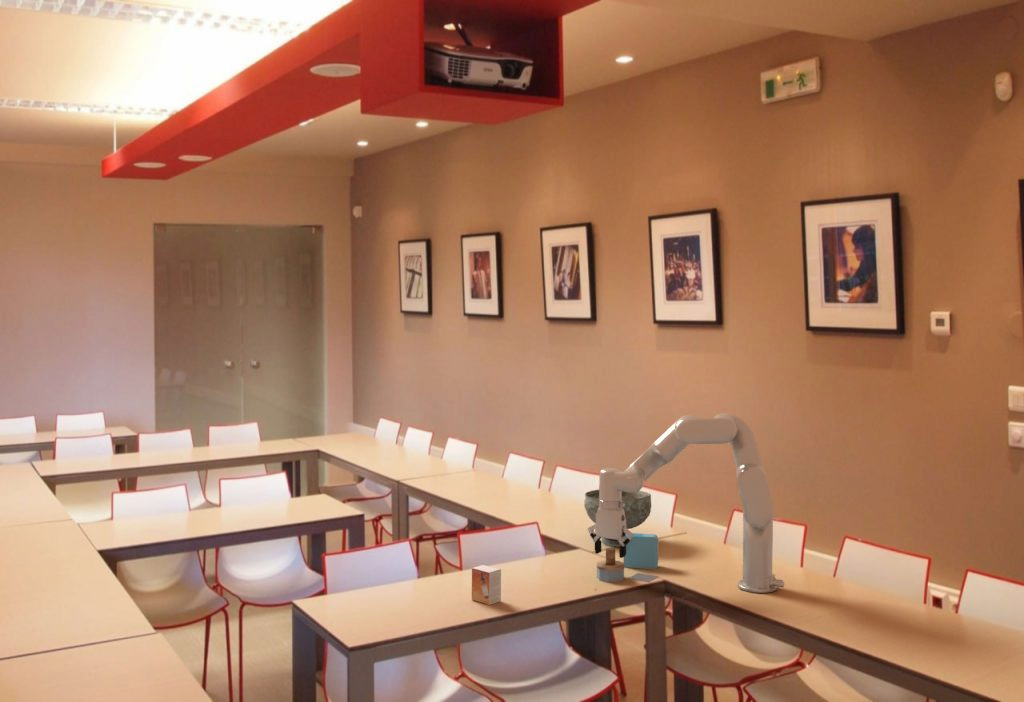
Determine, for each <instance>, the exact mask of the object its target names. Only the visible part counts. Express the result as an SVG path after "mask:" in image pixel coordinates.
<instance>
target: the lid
mask: <svg viewBox="0 0 1024 702" xmlns="http://www.w3.org/2000/svg"><path fill="white" fill-rule="evenodd" d="M597 568H598V569H601V570H606V571H617V570H622V569H624V570H625V568H626V567H625V564H624V563H623V562H622V561H619V560H616V549H615V548H611V547H610V548H606V549H605V560H600V561H597V562H596V569H597Z"/></svg>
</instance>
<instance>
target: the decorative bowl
mask: <svg viewBox="0 0 1024 702" xmlns="http://www.w3.org/2000/svg"><path fill="white" fill-rule="evenodd" d="M651 494H652V493H649V492H647V491H643V490H642V491H641V490H640V491H638V492H635V493H630V492H624V491H622V503H624V504H625V507H622V509H624V513H625V518H626V528H627V529H628V530H630V529H634V528H636V527H639V526H640V525H642V524H643V523H644V522H645V521H646V520H647V519H648V518H649V517H650V514H651V512H652V495H651ZM584 497H585V498H584V500H583V501H584V504H583V505H584V509H585V511H586V514H587V516H588V518H589V519H590V520H591V522H593V523H594V524H596V515H597V510H598V508H599V489H594V490H589V491H587V492H585V493H584ZM602 543H603V544H602ZM601 544H602V545H604V544H605V546H608V545H609V546H608V547H614V546H616V548H617V547H618V548H620V546H621V544H620V543H619V541H618V540H616V539H609V538H601Z"/></svg>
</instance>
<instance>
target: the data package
mask: <svg viewBox="0 0 1024 702" xmlns="http://www.w3.org/2000/svg"><path fill="white" fill-rule="evenodd" d="M632 533H633V532H632ZM633 534H634V536H633V537H632V539H631V541H630V542H629V543H628V544H627V545H626V555H625V557H622V560H623V563H624V564H625V567H624V568H628V569H631V568H632V569H650V570H651V569H652V570H657V569H658V565H659V536H657V534H654V533H640V532H639V533H637V532H634V533H633ZM627 537H628V535H627V534H626V537H625V539H627Z"/></svg>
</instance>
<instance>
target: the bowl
mask: <svg viewBox="0 0 1024 702" xmlns="http://www.w3.org/2000/svg"><path fill="white" fill-rule="evenodd" d="M596 578H597V580H599V581H600V582H606V583H619V582H621V581H623V580H625V568H624V569H622V570H617V571H606V570H601V569H598V568H597V567H596Z"/></svg>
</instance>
